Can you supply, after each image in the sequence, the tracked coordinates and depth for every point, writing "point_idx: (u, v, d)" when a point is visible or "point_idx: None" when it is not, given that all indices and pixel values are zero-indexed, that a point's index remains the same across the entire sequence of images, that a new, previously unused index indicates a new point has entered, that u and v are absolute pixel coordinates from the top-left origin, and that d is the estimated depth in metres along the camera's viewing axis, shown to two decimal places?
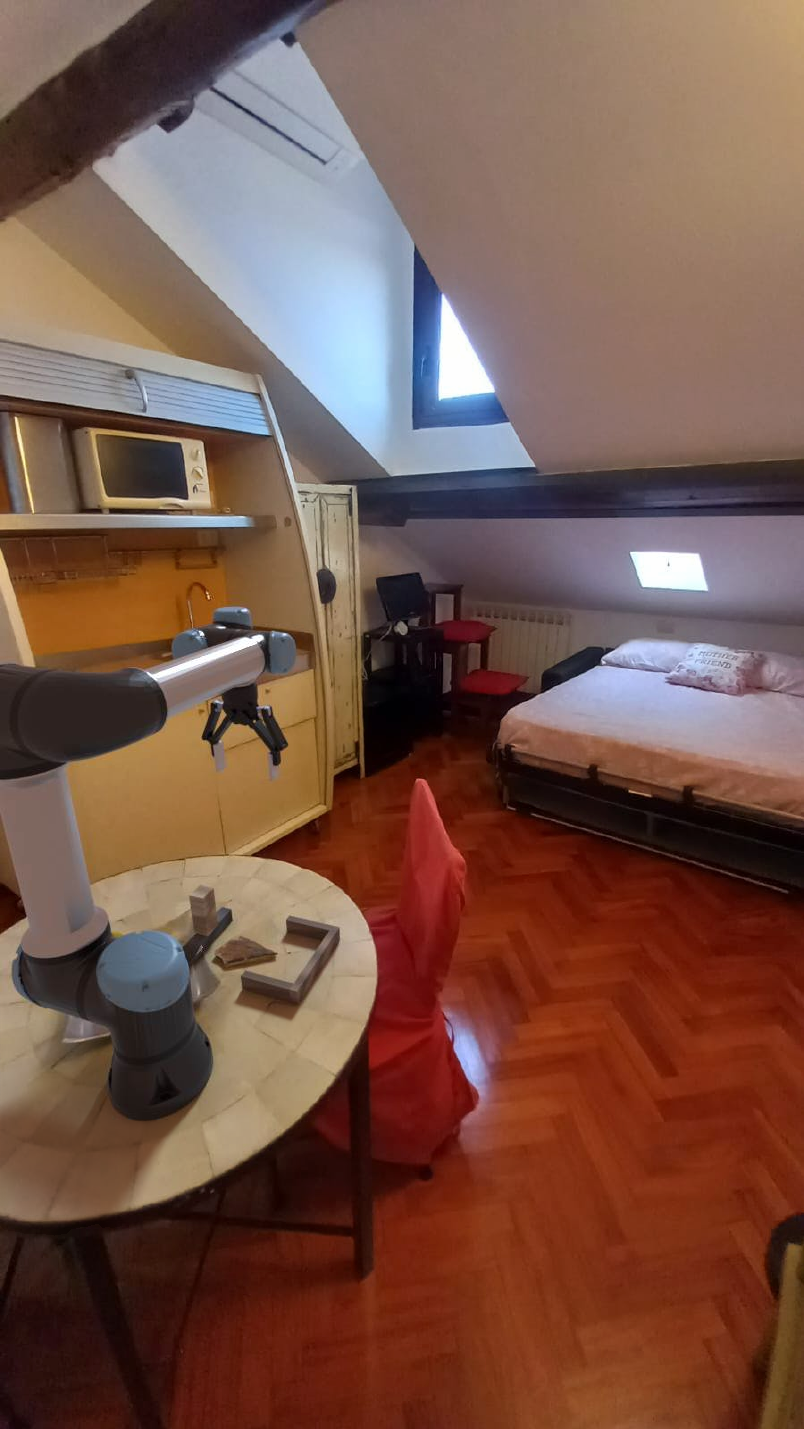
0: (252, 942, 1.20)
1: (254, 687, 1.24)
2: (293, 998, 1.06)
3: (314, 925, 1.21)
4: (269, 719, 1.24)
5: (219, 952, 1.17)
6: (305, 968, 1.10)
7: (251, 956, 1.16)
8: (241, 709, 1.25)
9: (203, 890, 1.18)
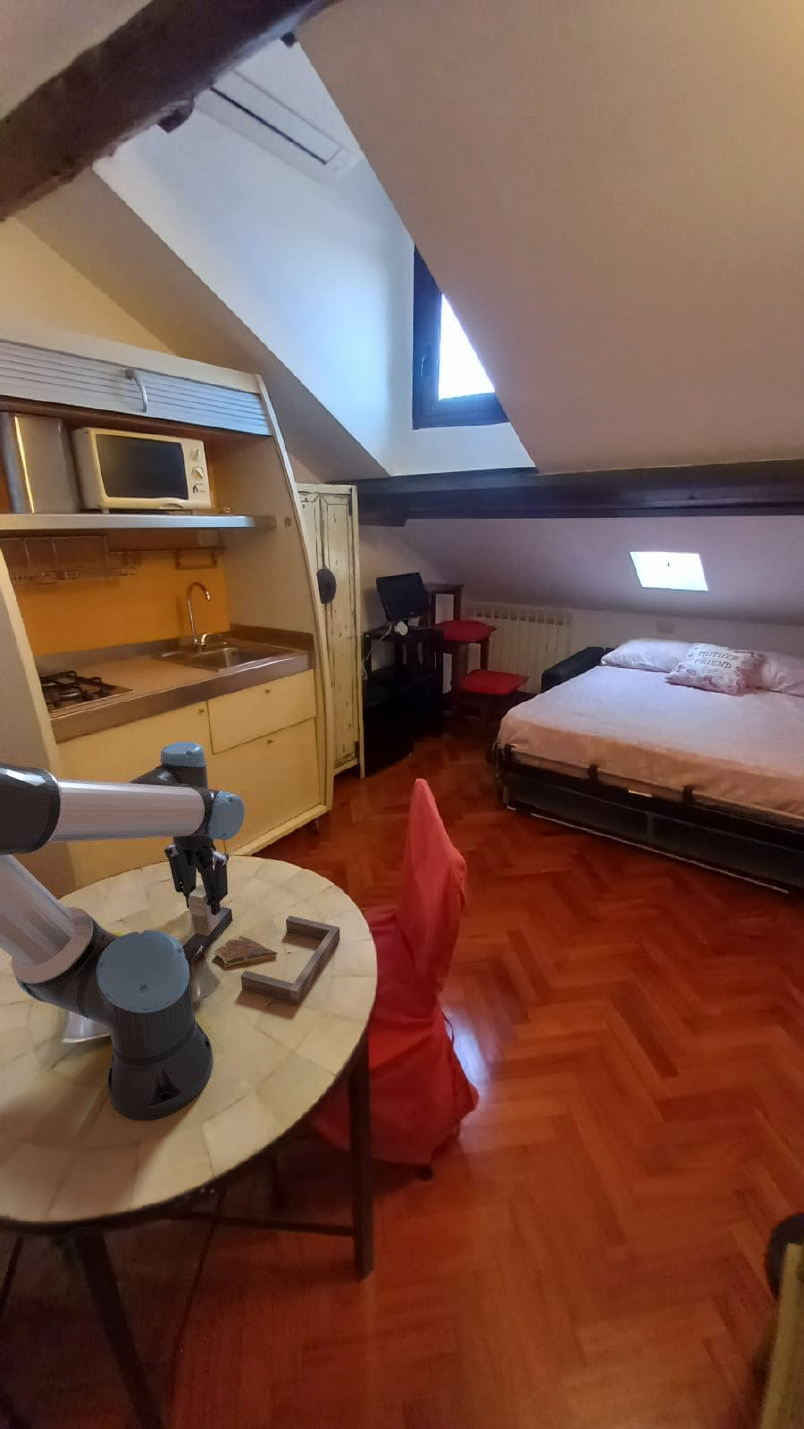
0: (252, 941, 1.20)
1: None
2: (293, 998, 1.06)
3: (314, 925, 1.21)
4: (220, 870, 1.13)
5: (219, 952, 1.17)
6: (305, 968, 1.10)
7: (251, 955, 1.16)
8: (195, 851, 1.13)
9: (203, 890, 1.18)
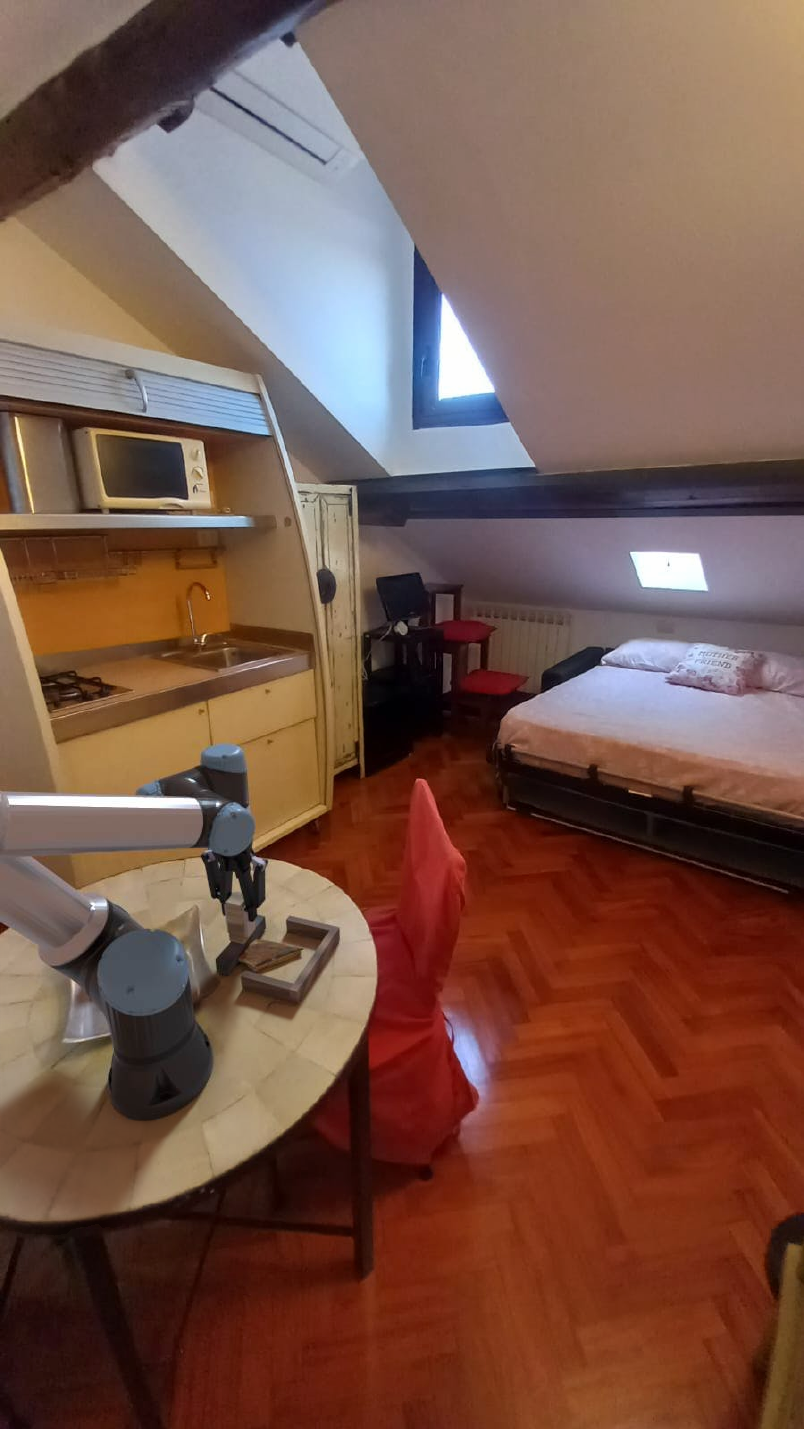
0: (273, 942, 1.19)
1: None
2: (293, 998, 1.06)
3: (314, 925, 1.21)
4: (260, 876, 1.10)
5: (243, 958, 1.15)
6: (305, 968, 1.10)
7: (278, 955, 1.16)
8: (233, 856, 1.10)
9: (239, 897, 1.15)
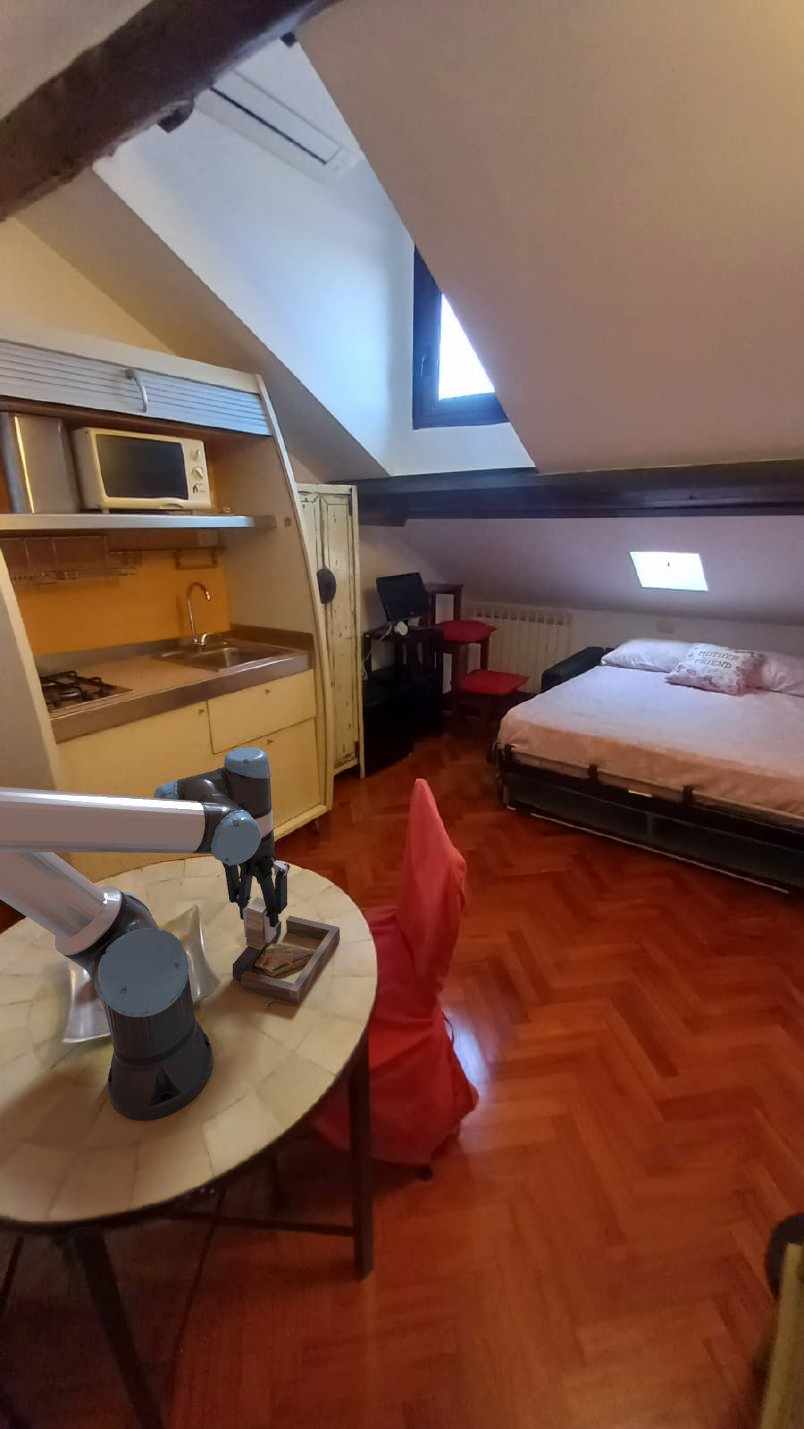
0: (289, 946, 1.18)
1: (271, 838, 1.08)
2: (293, 998, 1.06)
3: (314, 925, 1.21)
4: (282, 881, 1.09)
5: (260, 962, 1.14)
6: (305, 968, 1.10)
7: (294, 959, 1.14)
8: (254, 861, 1.09)
9: (261, 903, 1.14)
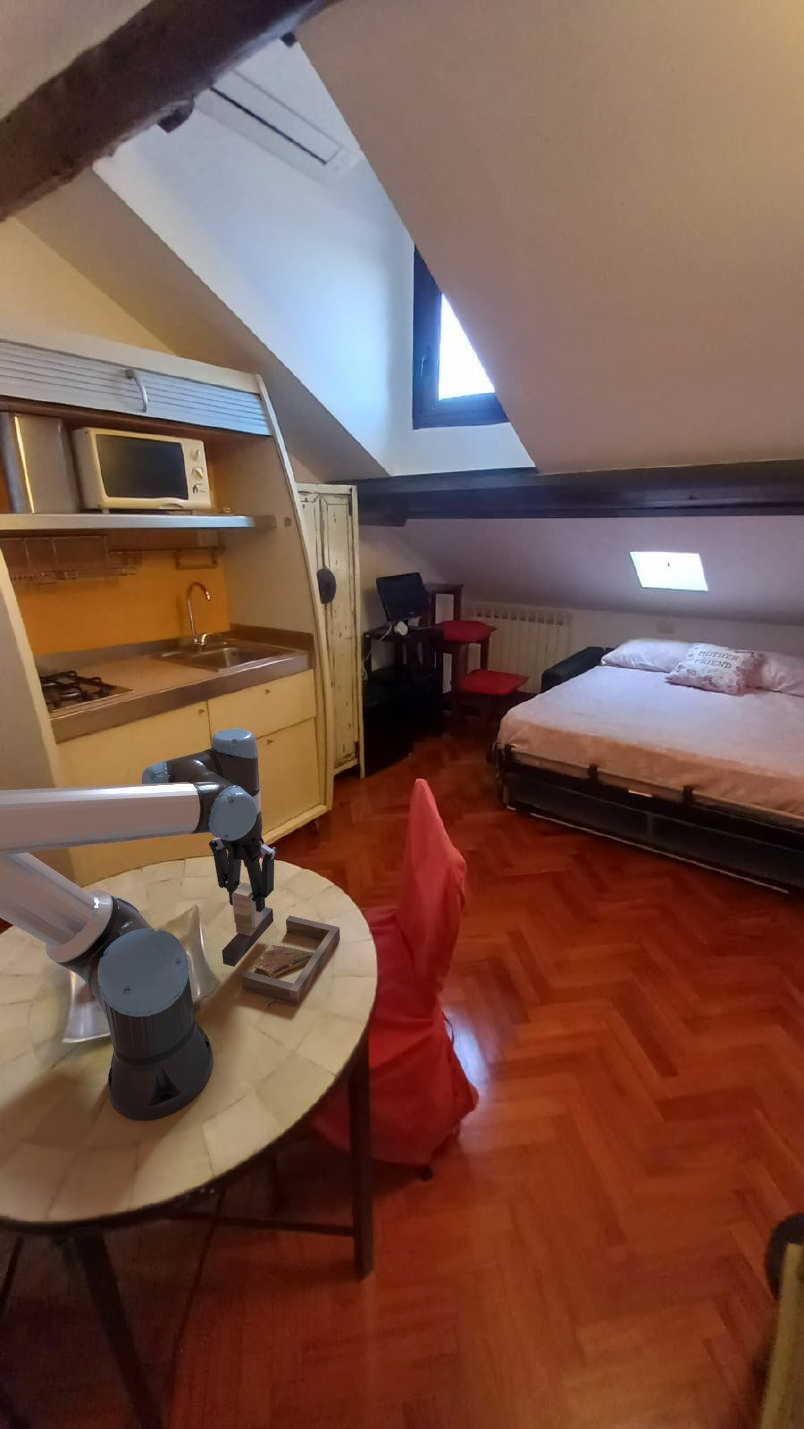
0: (289, 948, 1.18)
1: (258, 820, 1.07)
2: (293, 998, 1.06)
3: (314, 925, 1.21)
4: (268, 864, 1.08)
5: (260, 964, 1.14)
6: (305, 968, 1.10)
7: (295, 961, 1.15)
8: (242, 844, 1.09)
9: (247, 888, 1.13)
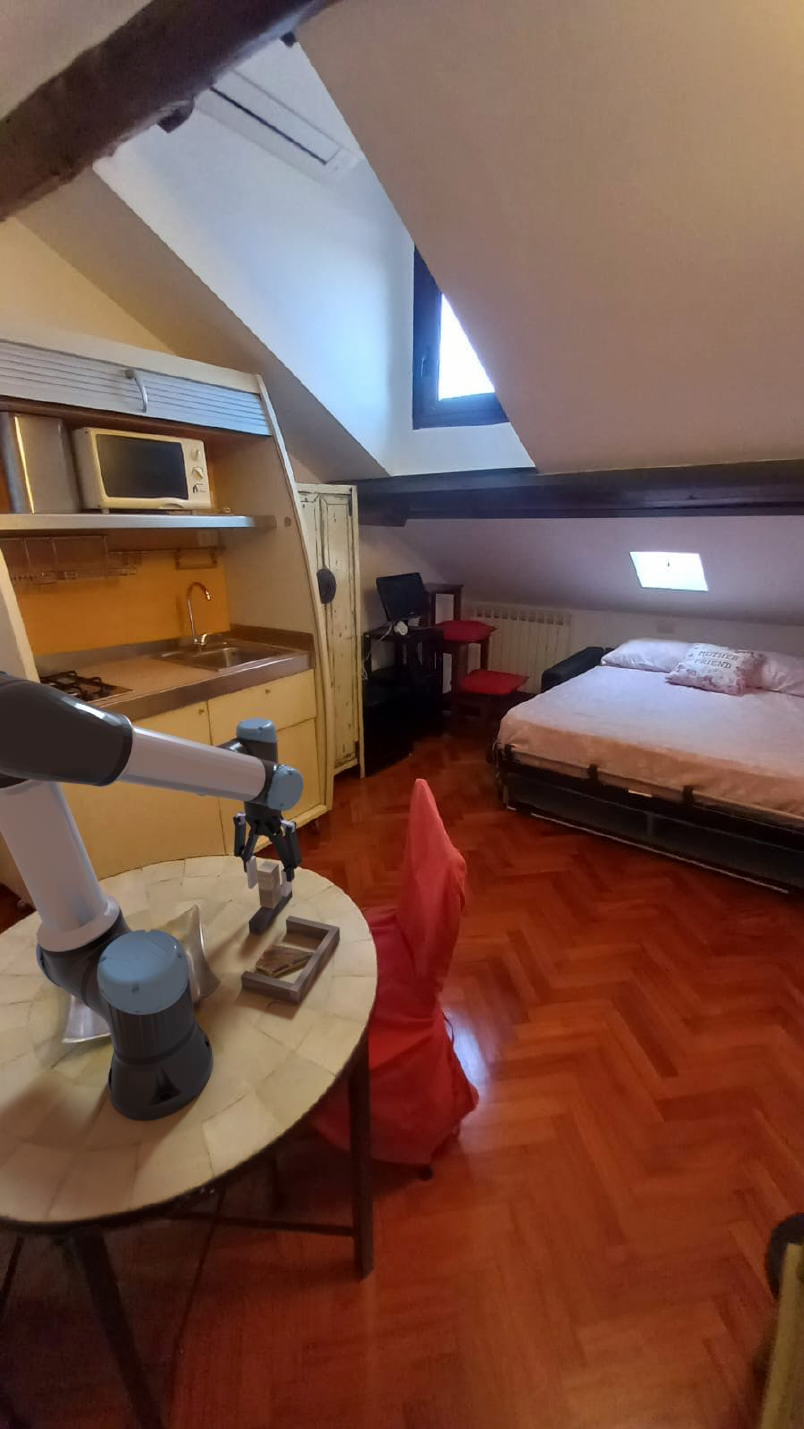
0: (289, 948, 1.18)
1: None
2: (293, 998, 1.06)
3: (314, 925, 1.21)
4: (291, 837, 1.21)
5: (260, 964, 1.14)
6: (305, 968, 1.10)
7: (295, 961, 1.15)
8: (264, 821, 1.21)
9: (269, 866, 1.26)
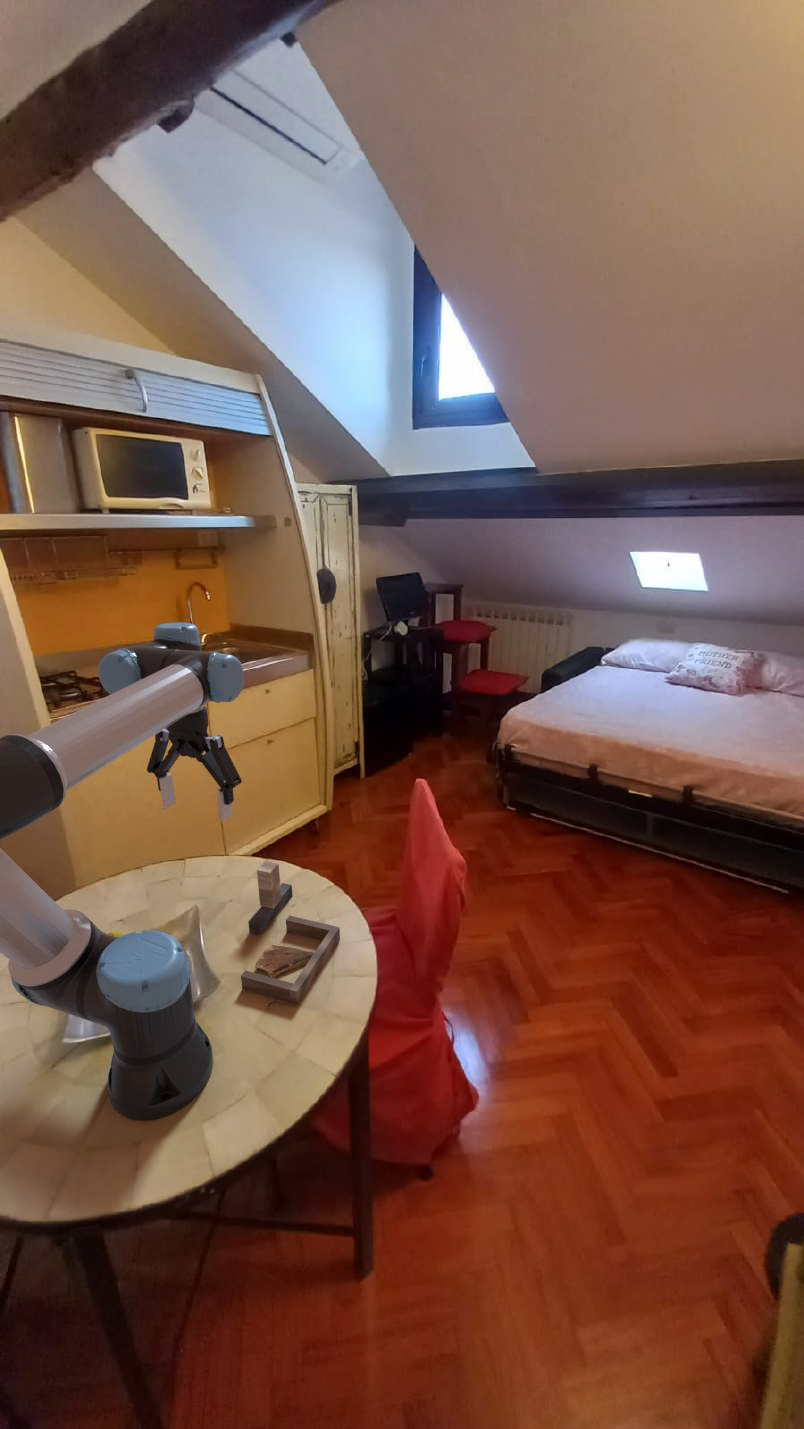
0: (289, 948, 1.18)
1: (203, 715, 1.08)
2: (293, 998, 1.06)
3: (314, 925, 1.21)
4: (219, 752, 1.08)
5: (260, 964, 1.14)
6: (305, 968, 1.10)
7: (295, 961, 1.15)
8: (188, 739, 1.09)
9: (269, 866, 1.26)
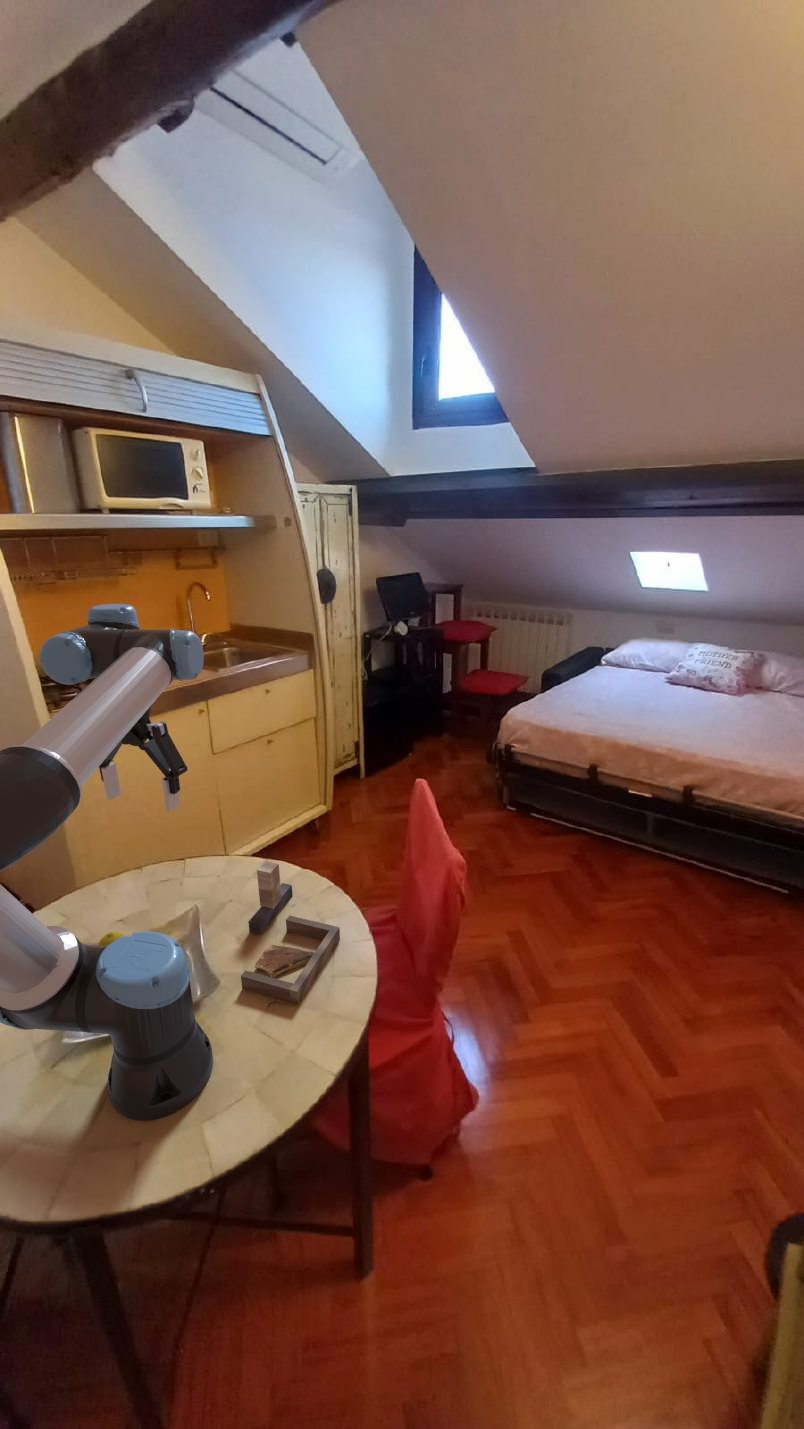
0: (289, 948, 1.18)
1: None
2: (293, 998, 1.06)
3: (314, 925, 1.21)
4: (162, 739, 1.04)
5: (260, 964, 1.14)
6: (305, 968, 1.10)
7: (295, 961, 1.15)
8: None
9: (269, 866, 1.26)
